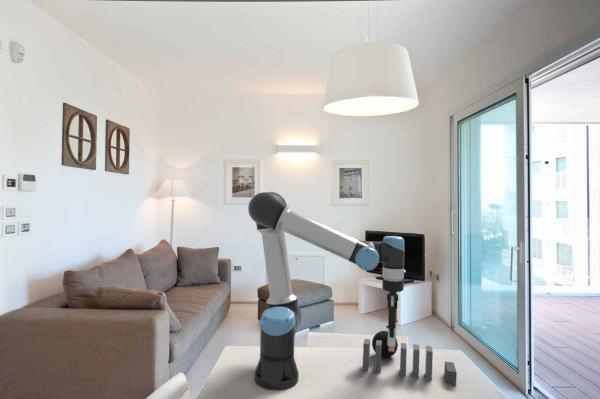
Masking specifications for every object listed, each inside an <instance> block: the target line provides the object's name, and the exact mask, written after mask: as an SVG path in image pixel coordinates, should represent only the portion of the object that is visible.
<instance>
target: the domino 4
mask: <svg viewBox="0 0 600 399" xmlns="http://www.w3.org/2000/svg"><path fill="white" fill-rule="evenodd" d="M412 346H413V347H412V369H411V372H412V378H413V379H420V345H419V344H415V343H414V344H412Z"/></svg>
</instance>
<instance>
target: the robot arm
mask: <svg viewBox="0 0 600 399" xmlns="http://www.w3.org/2000/svg"><path fill="white" fill-rule="evenodd" d="M247 210H248V215H249V216H250V218H251V219H252V220H253V222H255V224H256V230H257V231H258V232H259V233H260V234H261V239H262V247H263V255H264V262H265V268H266V276H267V278H266V279H267V284H268V293H269V296H268V298H267V300H266V308H267V309H265V310H264V311H263V312H262V313H261V316H260V320H259V322H260V326H259V327H260V337H259V338H260V340H259V341H260V342H259V343H260V344H259V345H260V346H259V351H260V353H259V359H258V362H257V364H256V368H255V371H254V383H255V384H256V385H257V386H259V387H261V388H263V389H266V390H273V391H274V390H275V391H278V390H279V391H280V390H285V389H290V388H292V387H294V386H296V385H297V384H298V382H299V374H300V373H299V370H298V369H299V368H298V367H297V362H296V359H295V335H296V332H297V330H298V328H299V327H300V324H301V321H302V311H301V308H300V306H299V304H298V303H299V302H298V296H297V295H295V294H294V293H293V289H292V280H291V273H290V265H289V258H288V251H287V250H288V249H287V243H286V235H285V233H286V234H289V235H291V236H292V237H293V236H294V237H295V238H298V239H300V240H302V241H304V242H306V243H308V244H311V245H313V246H315V247H317V248H319V249H322V250H324V251H327V252H329V253H331V254H333V255H335V256H338V257H340V258H342V259H344V260H346V261H348V262H350V263H352V264H354V265H357V267H358V268H359V269H361V270H363V271H373V270H374V269H375V268H377V266H378V265H379V263H382V286H381V288H382V290H383V291H386V292H389V293H387V294H386V301H387V308H388V316H387V317H388V318H387V320H388V324H387V325H386V326H385V328H386V329H387V331H388V346H395V341H396V339H397V336H396V335H397V323H398V319H397V314H396V313H397V309H398V301H399V294H398V293H400V292H403V291H404V284H405V282H404V277H405V274H406V270H405V251H406V250H405V239H404V238H403V237H402V236H399V235H398V236H397V235H386V236H383V239H382V241H381V240H380V241H369V240H368V241H367V240H366V241H365V240H357V239H355V238H353V237H351V236H348V235H346V234H344V233H342V232H340V231H337V230H335V229H333V228H331V227H329V226H327V225H324V224H322V223H320V222H318V221H315V220H313V219H312V218H309V217H306V216H304V215H303V214H300V213H298V212H296V211H293V210H291V209H290V206H289V205H288V204H287V202H286V200H285V198H284V197H283V196H282V195H281V194H279V193H277V192H275V191H268V192H266V191H265V192H258V193H257V194H255V195H253V196H252V197H251V199H250V200H249V202H248V209H247Z"/></svg>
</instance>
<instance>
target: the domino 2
mask: <svg viewBox="0 0 600 399" xmlns="http://www.w3.org/2000/svg"><path fill="white" fill-rule="evenodd" d="M374 353H375V355H374V356H375V358H374V359H375V360H374V362H375V363H374V373H378V374H381V373H382V372H381V371H382V358H383V357H382V341H380V340H376V352H375V351H374Z"/></svg>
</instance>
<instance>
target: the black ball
mask: <svg viewBox="0 0 600 399" xmlns="http://www.w3.org/2000/svg"><path fill="white" fill-rule="evenodd" d="M376 340H380V341H382V358H391V357H392V356H394V355H395V354H396V353H397V350H398V349H399V348H398V346H399V344H398V340H397V338H396V341H395V349H394V352H392V351H389V346H388V330H380V331H378V332H376V333H375V334H374V336H373V337H372V340H371V346H372V350H373V351H374V353H375V352H376Z"/></svg>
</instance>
